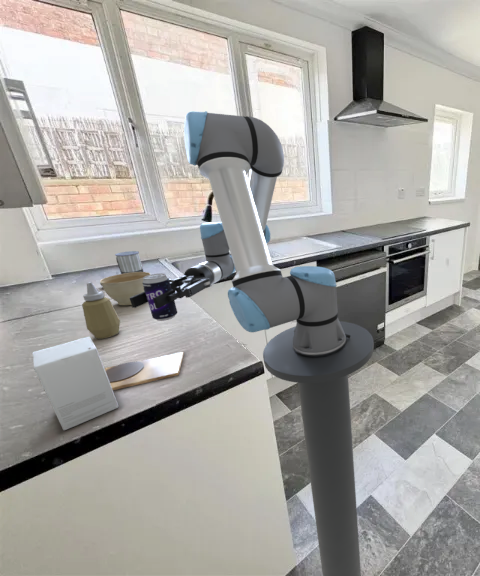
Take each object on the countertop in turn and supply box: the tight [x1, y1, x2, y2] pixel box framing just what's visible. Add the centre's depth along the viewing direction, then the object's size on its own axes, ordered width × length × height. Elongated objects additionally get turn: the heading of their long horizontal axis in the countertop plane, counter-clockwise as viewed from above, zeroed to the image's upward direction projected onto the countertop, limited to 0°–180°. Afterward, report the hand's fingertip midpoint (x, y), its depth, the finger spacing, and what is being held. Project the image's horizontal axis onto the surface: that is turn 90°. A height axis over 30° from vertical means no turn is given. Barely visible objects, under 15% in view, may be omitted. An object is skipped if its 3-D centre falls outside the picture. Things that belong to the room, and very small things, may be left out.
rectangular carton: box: [32, 335, 119, 431], centre depth 65 cm, size 9×9×15 cm
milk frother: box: [99, 250, 144, 286], centre depth 149 cm, size 14×16×15 cm
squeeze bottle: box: [81, 281, 121, 340], centre depth 97 cm, size 8×8×18 cm
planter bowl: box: [99, 271, 152, 306], centre depth 127 cm, size 16×16×11 cm
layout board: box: [104, 351, 185, 391], centre depth 79 cm, size 20×12×1 cm, turn 116°
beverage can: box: [143, 272, 178, 322], centre depth 83 cm, size 6×6×12 cm
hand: (144, 303), depth 78 cm, fingers closed on beverage can, 6 cm apart
